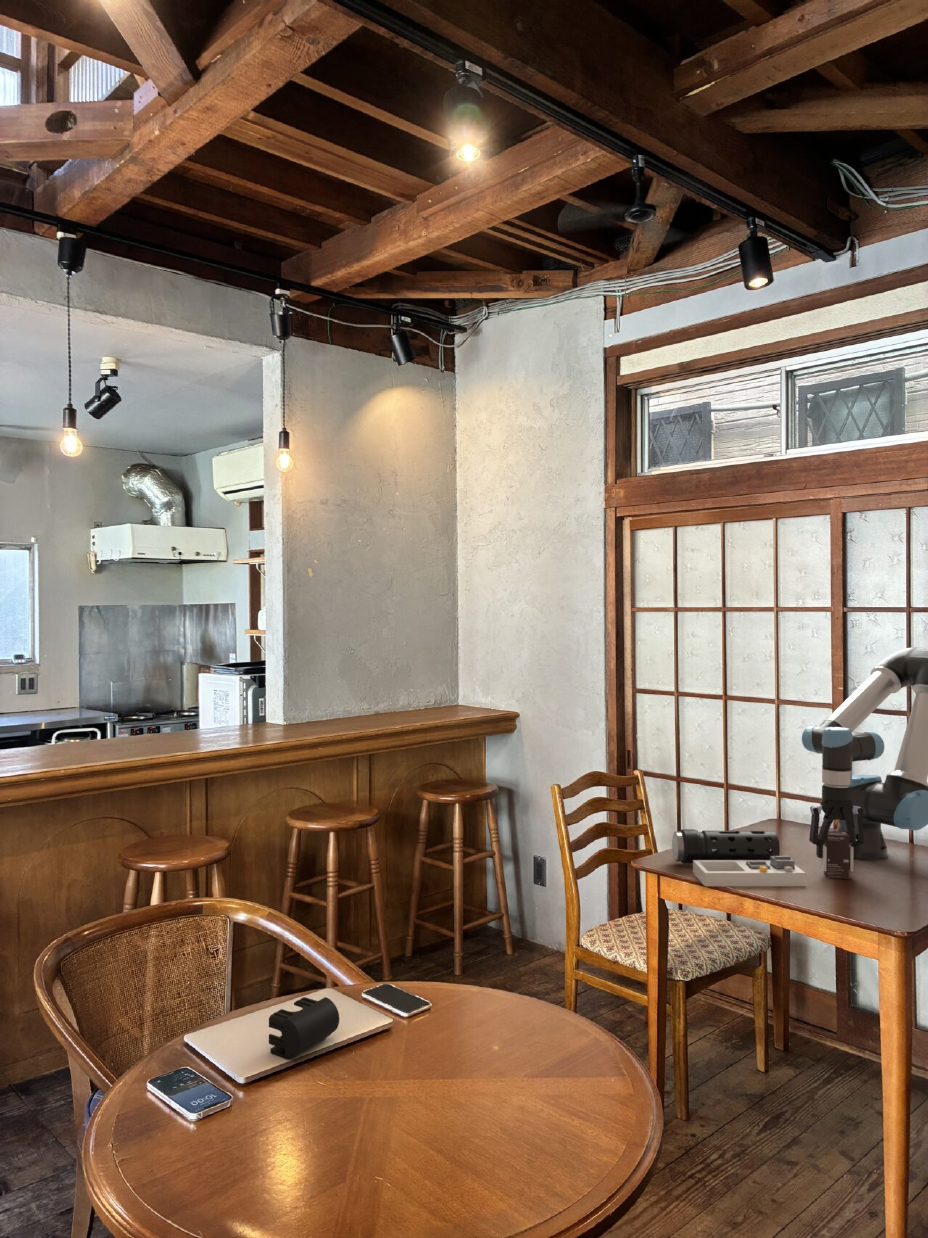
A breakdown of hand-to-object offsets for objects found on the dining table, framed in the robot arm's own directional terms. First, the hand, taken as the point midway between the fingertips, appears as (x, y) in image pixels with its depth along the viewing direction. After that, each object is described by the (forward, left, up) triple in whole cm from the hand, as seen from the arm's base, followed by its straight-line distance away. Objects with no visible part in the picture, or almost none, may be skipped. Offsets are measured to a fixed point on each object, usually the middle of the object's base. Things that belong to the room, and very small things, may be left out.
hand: (836, 869), depth 243 cm
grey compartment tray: (+25, +2, -2) cm, 25 cm away
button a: (+15, +2, 0) cm, 16 cm away
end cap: (+128, +94, -2) cm, 159 cm away
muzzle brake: (+27, -11, -2) cm, 29 cm away
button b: (+22, +2, -1) cm, 22 cm away
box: (0, 0, -2) cm, 2 cm away
